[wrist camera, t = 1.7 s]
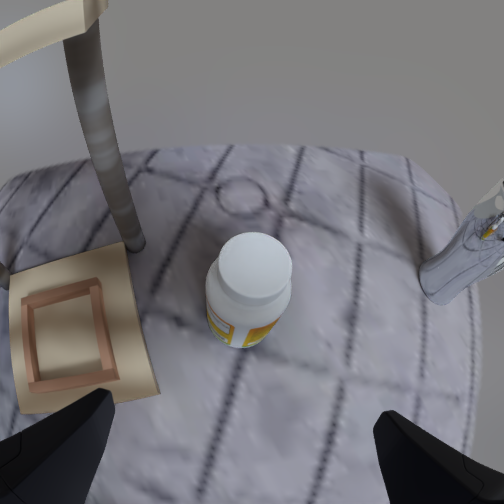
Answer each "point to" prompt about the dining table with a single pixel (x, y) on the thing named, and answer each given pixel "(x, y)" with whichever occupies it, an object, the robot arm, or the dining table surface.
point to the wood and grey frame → (83, 264)
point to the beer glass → (468, 251)
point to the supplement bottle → (247, 289)
